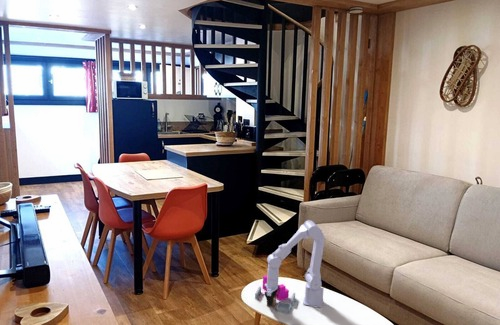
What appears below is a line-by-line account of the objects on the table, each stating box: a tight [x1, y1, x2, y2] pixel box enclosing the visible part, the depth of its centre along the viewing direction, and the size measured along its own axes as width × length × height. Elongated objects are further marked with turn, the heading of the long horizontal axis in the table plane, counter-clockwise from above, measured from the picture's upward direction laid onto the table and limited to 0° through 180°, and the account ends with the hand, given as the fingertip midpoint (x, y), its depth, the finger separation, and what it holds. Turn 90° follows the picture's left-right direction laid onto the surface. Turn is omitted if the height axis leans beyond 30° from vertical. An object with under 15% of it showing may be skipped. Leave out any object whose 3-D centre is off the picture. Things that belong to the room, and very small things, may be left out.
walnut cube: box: [266, 296, 277, 308], centre depth 203 cm, size 4×4×4 cm
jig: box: [254, 286, 296, 314], centre depth 206 cm, size 20×16×3 cm
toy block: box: [262, 274, 290, 302], centre depth 215 cm, size 15×6×8 cm, turn 34°
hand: (271, 301), depth 204 cm, fingers open, 6 cm apart
